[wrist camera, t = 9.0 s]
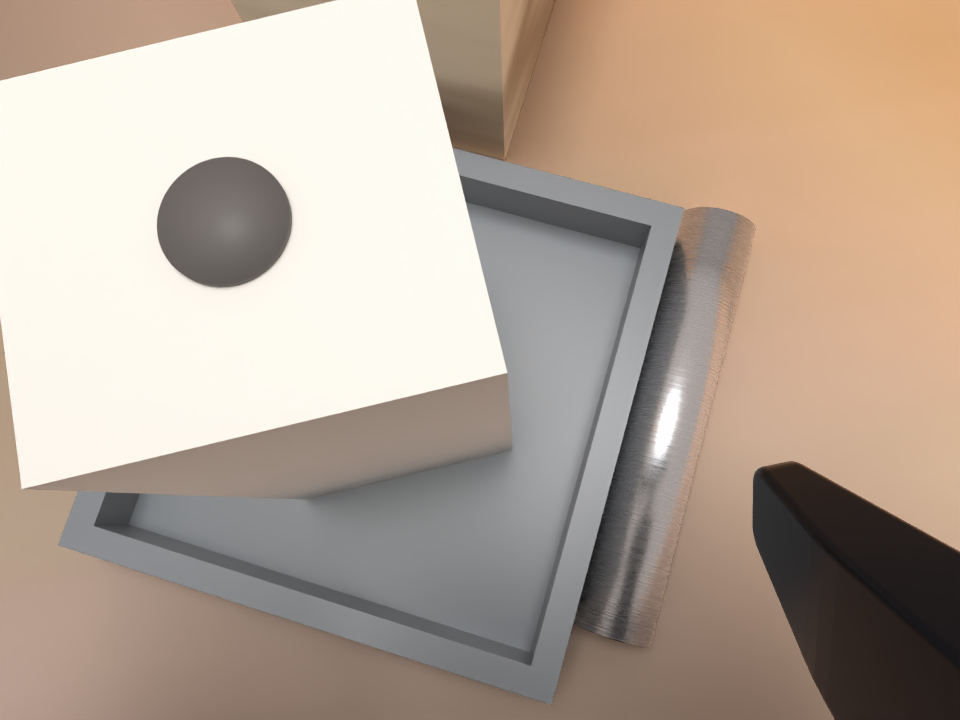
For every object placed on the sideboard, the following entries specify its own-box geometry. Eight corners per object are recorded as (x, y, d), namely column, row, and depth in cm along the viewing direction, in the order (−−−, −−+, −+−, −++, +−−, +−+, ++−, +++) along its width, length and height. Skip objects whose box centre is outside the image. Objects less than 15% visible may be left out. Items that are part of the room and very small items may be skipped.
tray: (547, 681, 18) (551, 705, 16) (108, 540, 20) (58, 545, 17) (666, 239, 20) (684, 208, 18) (258, 132, 21) (229, 89, 19)
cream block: (512, 450, 19) (507, 371, 8) (305, 499, 19) (15, 489, 8) (468, 270, 20) (410, -24, 9) (270, 317, 20) (-35, 82, 9)
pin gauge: (557, 615, 18) (618, 630, 19) (602, 637, 17) (667, 653, 18) (665, 215, 20) (718, 243, 21) (716, 201, 18) (771, 232, 19)
